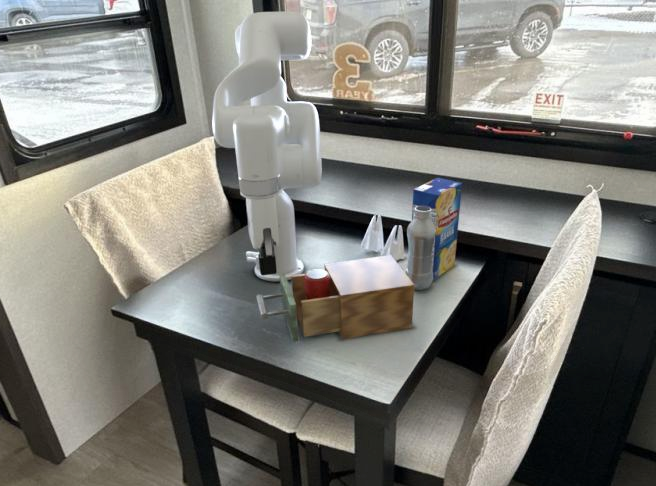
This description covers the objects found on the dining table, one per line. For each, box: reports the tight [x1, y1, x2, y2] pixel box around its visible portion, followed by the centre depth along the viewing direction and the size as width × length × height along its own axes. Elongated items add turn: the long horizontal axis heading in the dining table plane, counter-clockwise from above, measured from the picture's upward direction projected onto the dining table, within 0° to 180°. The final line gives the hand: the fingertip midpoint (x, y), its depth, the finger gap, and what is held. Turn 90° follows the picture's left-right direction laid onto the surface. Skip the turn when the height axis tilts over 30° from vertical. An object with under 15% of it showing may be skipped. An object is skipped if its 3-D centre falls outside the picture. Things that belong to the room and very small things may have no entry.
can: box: [304, 268, 330, 300], centre depth 116 cm, size 5×5×10 cm
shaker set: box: [360, 214, 405, 262], centre depth 146 cm, size 12×4×11 cm, turn 51°
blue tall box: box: [411, 177, 463, 281], centre depth 135 cm, size 7×11×22 cm, turn 140°
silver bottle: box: [405, 206, 436, 291], centre depth 128 cm, size 6×7×20 cm
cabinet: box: [323, 255, 415, 340], centre depth 120 cm, size 16×15×11 cm
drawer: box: [255, 273, 341, 343], centre depth 117 cm, size 20×13×9 cm, turn 104°
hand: (268, 272), depth 111 cm, fingers closed
